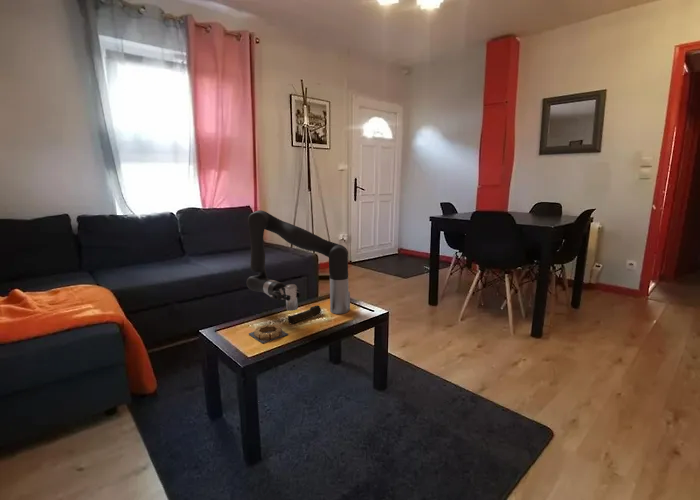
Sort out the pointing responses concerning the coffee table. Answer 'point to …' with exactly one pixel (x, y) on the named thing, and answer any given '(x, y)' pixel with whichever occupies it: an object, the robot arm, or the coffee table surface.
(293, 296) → the cylinder
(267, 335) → the ring plate
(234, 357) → the coffee table surface
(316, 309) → the hand tool
